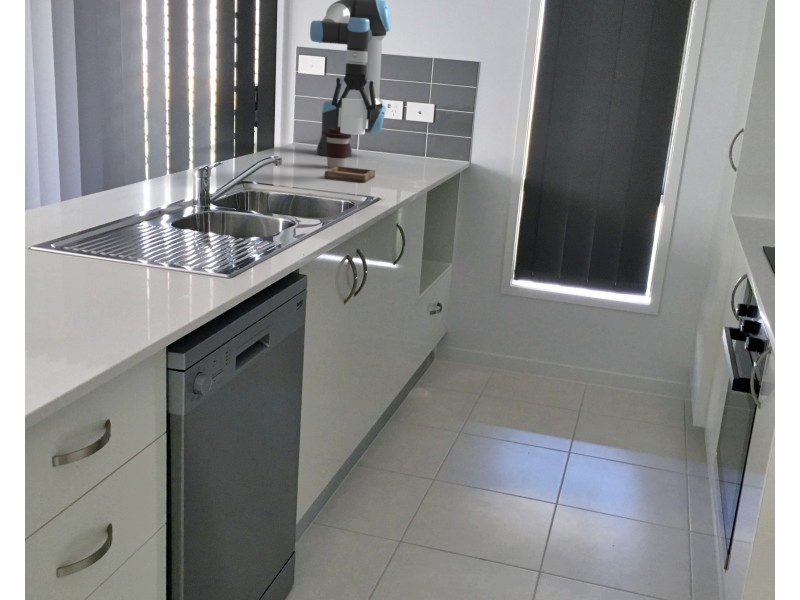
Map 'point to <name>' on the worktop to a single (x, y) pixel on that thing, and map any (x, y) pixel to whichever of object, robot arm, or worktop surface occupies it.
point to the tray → (350, 174)
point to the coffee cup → (337, 147)
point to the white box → (352, 116)
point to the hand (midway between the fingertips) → (352, 127)
